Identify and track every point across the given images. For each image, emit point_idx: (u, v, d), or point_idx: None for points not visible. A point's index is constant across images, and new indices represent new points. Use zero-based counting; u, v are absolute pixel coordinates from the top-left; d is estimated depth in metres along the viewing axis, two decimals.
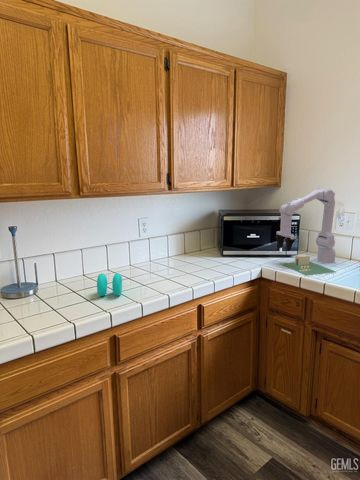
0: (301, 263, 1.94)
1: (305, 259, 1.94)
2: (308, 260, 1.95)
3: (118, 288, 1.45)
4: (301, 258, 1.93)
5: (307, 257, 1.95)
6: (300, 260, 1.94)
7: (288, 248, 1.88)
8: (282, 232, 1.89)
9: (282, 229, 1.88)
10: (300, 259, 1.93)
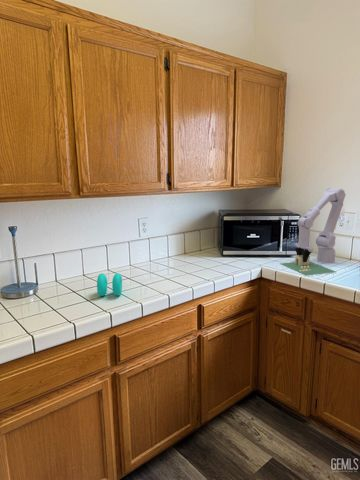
0: (301, 263, 1.94)
1: None
2: (308, 260, 1.95)
3: (118, 288, 1.45)
4: (301, 258, 1.93)
5: None
6: (300, 260, 1.94)
7: (305, 259, 1.93)
8: (300, 244, 1.93)
9: (300, 241, 1.92)
10: (300, 259, 1.93)
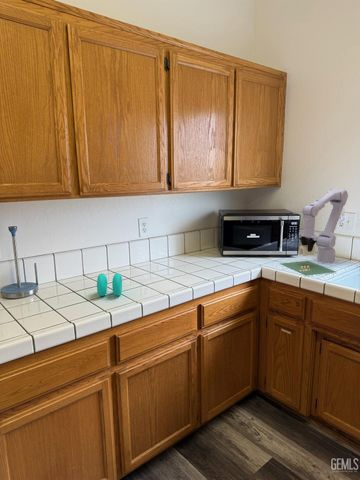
0: (305, 253, 1.90)
1: None
2: (313, 250, 1.91)
3: (118, 288, 1.45)
4: (305, 248, 1.89)
5: None
6: (304, 250, 1.89)
7: (309, 249, 1.89)
8: (305, 233, 1.88)
9: (305, 230, 1.88)
10: (304, 249, 1.89)
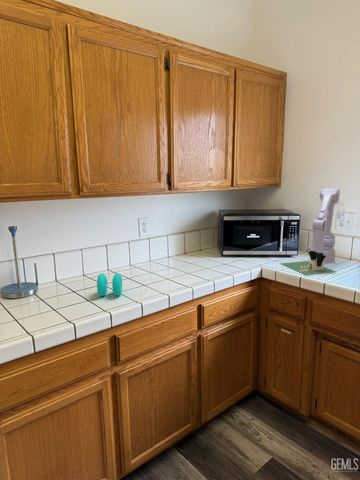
0: (315, 268, 1.84)
1: None
2: (322, 265, 1.85)
3: (118, 288, 1.45)
4: (315, 263, 1.83)
5: None
6: (314, 265, 1.83)
7: (319, 264, 1.83)
8: (314, 248, 1.83)
9: (314, 245, 1.82)
10: (314, 264, 1.83)
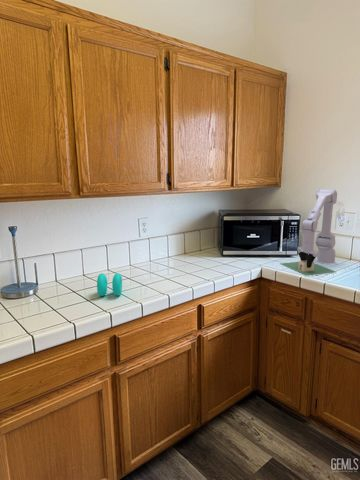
0: (305, 269, 1.82)
1: None
2: (312, 266, 1.83)
3: (118, 288, 1.45)
4: (305, 264, 1.81)
5: None
6: (304, 266, 1.82)
7: (309, 265, 1.81)
8: (304, 249, 1.81)
9: (304, 246, 1.80)
10: (304, 265, 1.81)
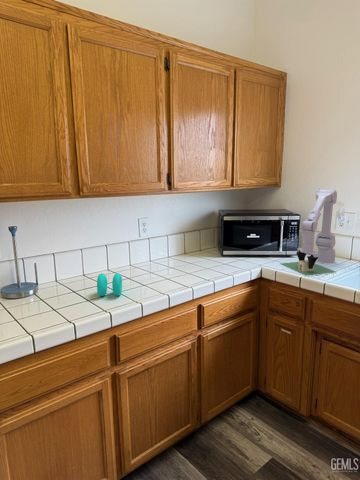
0: (305, 269, 1.82)
1: None
2: None
3: (118, 288, 1.45)
4: (305, 264, 1.81)
5: None
6: (304, 266, 1.82)
7: (310, 266, 1.80)
8: (304, 249, 1.81)
9: (304, 246, 1.80)
10: (304, 265, 1.81)
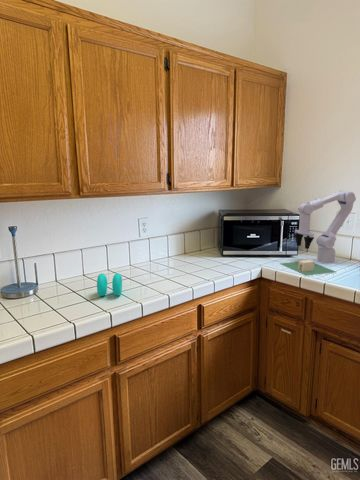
0: (305, 269, 1.82)
1: (309, 265, 1.82)
2: (312, 266, 1.83)
3: (118, 288, 1.45)
4: (305, 264, 1.81)
5: (311, 263, 1.83)
6: (304, 266, 1.82)
7: (307, 246, 1.94)
8: (301, 230, 1.95)
9: (301, 227, 1.94)
10: (304, 265, 1.81)
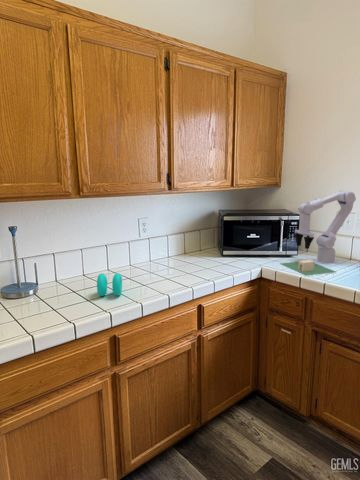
0: (305, 269, 1.82)
1: (309, 265, 1.82)
2: (312, 266, 1.83)
3: (118, 288, 1.45)
4: (305, 264, 1.81)
5: (311, 263, 1.83)
6: (304, 266, 1.82)
7: (307, 246, 1.94)
8: (301, 230, 1.95)
9: (301, 227, 1.94)
10: (304, 265, 1.81)
